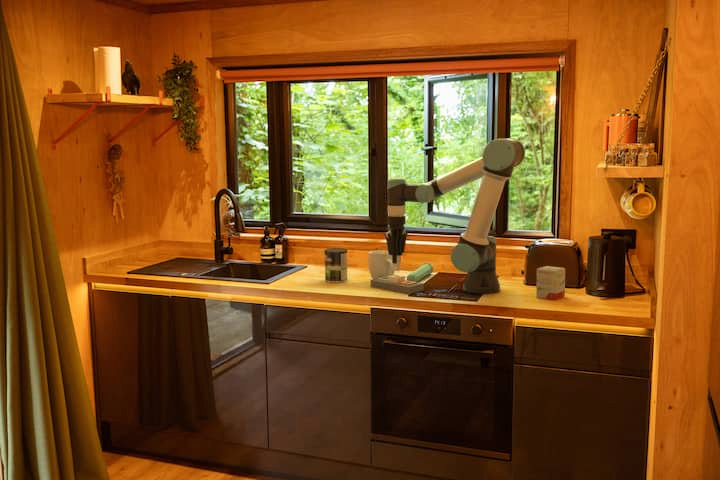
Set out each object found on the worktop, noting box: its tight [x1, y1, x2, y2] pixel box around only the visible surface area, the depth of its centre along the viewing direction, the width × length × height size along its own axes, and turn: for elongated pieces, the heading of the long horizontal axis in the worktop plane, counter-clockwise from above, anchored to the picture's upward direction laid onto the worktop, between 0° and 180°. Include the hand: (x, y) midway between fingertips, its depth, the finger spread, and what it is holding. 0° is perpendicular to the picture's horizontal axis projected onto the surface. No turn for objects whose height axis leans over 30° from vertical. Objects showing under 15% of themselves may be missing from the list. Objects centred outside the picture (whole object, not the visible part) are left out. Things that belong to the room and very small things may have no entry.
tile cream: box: [388, 274, 406, 284], centre depth 305 cm, size 5×5×4 cm
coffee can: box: [323, 247, 348, 284], centre depth 323 cm, size 10×10×14 cm
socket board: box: [370, 279, 425, 295], centre depth 305 cm, size 22×9×3 cm, turn 46°
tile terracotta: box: [400, 281, 417, 286], centre depth 301 cm, size 5×5×4 cm
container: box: [406, 262, 434, 283], centre depth 324 cm, size 6×6×25 cm
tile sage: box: [377, 277, 388, 282], centre depth 309 cm, size 5×5×4 cm
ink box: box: [535, 265, 566, 301], centre depth 285 cm, size 9×9×12 cm
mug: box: [367, 249, 395, 280], centre depth 319 cm, size 15×11×13 cm
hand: (396, 270), depth 304 cm, fingers closed
